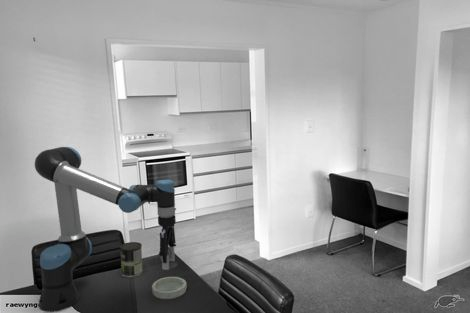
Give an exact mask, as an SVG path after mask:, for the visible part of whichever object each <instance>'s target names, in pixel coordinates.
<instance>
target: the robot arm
mask: <svg viewBox="0 0 470 313" xmlns="http://www.w3.org/2000/svg"><path fill="white" fill-rule="evenodd" d="M81 156H82V155H81V154H80V153H79V152H78V150H76V148H74V147H70V146H59V147H56V148H51V149H45V150H43V151H41V152H40V153H39V154H37V156H36V157H35V159H34V168H35V170H36V172H37V174H38V175H39V176H41V177H42V178H44V179H45V180H47V181H50V182H52V183H54V191H55V197H56V205H57V212H58V220H59V221H58V222H59V230H60V235H59V237H58V238H57V242H58V244H54V245H53V246H49V247H46V248H45V249H44V250H43V251H42V252H41V253H40V256H39V257H40V259H39V266H40V273H41V283H42V289H41V293H40V295H39V300H38V306H39V309H40V310H42V311H44V312H57V311H62V309H63V310H65V308H66V309H68V308H70V307H72V306H74V305H75V304H76V303H78V301H79V291H78V289H77V287H76V285H75V283H74V277H73V270H74V269H77V267H78V266H80V265H81V264H83V263H85V261H86V260H87V259H88V258H89V256H90V255H91V253H92V249H93V247H92V246H93V245H92V241H91V240H90V239H89V238H88V237H87V234H86V232H84V231H83V230H82V224H81V223H82V222H81V216H80V209H79V208H80V206H79V199H78V198H79V197H78V192H77V190H80V191H81V192H84V193H86V194H89V195H91V196H94V197H97V198H99V199H102V200H104V201H107V202H109V203H112V204H113V205H117V206H118V208H119V209H120V211H122V212H123V213H127V214H130V213H132V212H135V211H137V210H139V209H140V207H141V206H143V205H144V204H146V203H156V204H157V224H158V225H159V226H160V227H162V228H161V232H159V252H160V256H162V262H161V263H162V264H161V266H162V270H165V271H167V270H168V271H170V269H169V261H175V260H176V259H175V258H176V256H175V247H176V246H177V242H176V231H175V224H176V222H177V220H176V219H177V218H176V211H177V208H176V203H175V202H176V201H175V196H176V195H175V191H176V190H175V183H174V181H173V180H172V179H159V180H157V181H156V182H155V184H132V185H130V186H129V188H126V187H124V186H122V185H120V184H117V183H115V182H112V181H110V180H107V179H105V178H103V177H100V176H97V175H94V174H93V173H90V172H87V171H85V170H83V169H80V167H81V165H82V157H81ZM168 248H169V249H170V250H171V257H170V259H169V256H168ZM175 262H176V261H175ZM67 307H68V308H67Z"/></svg>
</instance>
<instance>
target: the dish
mask: <svg viewBox="0 0 470 313" xmlns="http://www.w3.org/2000/svg"><path fill="white" fill-rule="evenodd" d="M187 286H188V284H187V281H186V280H185V279H184V278H181V277H179V276H167V277H162V278H159V279H157V280H156V281H154V282H153V284H152V285H151V291H152V295H153V296H154V297H155V298H158V299H160V300H172V299H177V298H180V297H182V296H183V295H185V293H186V291H187V288H188V287H187Z"/></svg>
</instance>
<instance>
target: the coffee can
mask: <svg viewBox="0 0 470 313" xmlns="http://www.w3.org/2000/svg"><path fill="white" fill-rule="evenodd" d="M142 247H143V246H142V243H141V242H137V241H129V242H124V243H123V244H121V245H120V246H119V249H120V267H121V270H120V271H121V276H122V277H125V278H135V277H138V276H140V275H141V274H142V273H143V271H144V270H143V256H142V255H143V254H142Z"/></svg>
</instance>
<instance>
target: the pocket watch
mask: <svg viewBox="0 0 470 313" xmlns="http://www.w3.org/2000/svg"><path fill="white" fill-rule="evenodd" d="M168 256H169V259H170V257H171V250H170V249H169V248H168ZM157 257H158V261H160V262H161V263H162V256H160V251H159V252H158V256H157ZM177 266H178V262H177V261H169V270H170V269H174V268H176V267H177Z"/></svg>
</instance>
